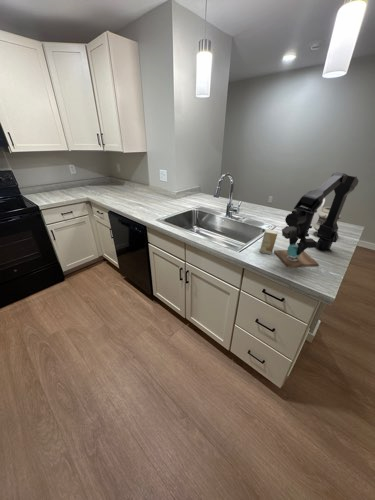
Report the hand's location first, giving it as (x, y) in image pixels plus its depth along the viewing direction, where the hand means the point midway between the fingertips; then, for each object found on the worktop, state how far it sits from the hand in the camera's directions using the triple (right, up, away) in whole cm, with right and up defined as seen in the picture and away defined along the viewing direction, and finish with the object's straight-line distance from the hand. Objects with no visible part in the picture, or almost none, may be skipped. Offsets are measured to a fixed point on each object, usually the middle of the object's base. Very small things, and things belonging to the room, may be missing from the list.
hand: (294, 251), depth 99 cm
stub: (0, -4, +2) cm, 4 cm away
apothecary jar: (+34, +10, +30) cm, 46 cm away
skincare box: (-10, 0, +11) cm, 15 cm away
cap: (0, -1, +1) cm, 1 cm away
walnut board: (+3, -4, +5) cm, 6 cm away
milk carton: (+39, +21, +50) cm, 67 cm away
